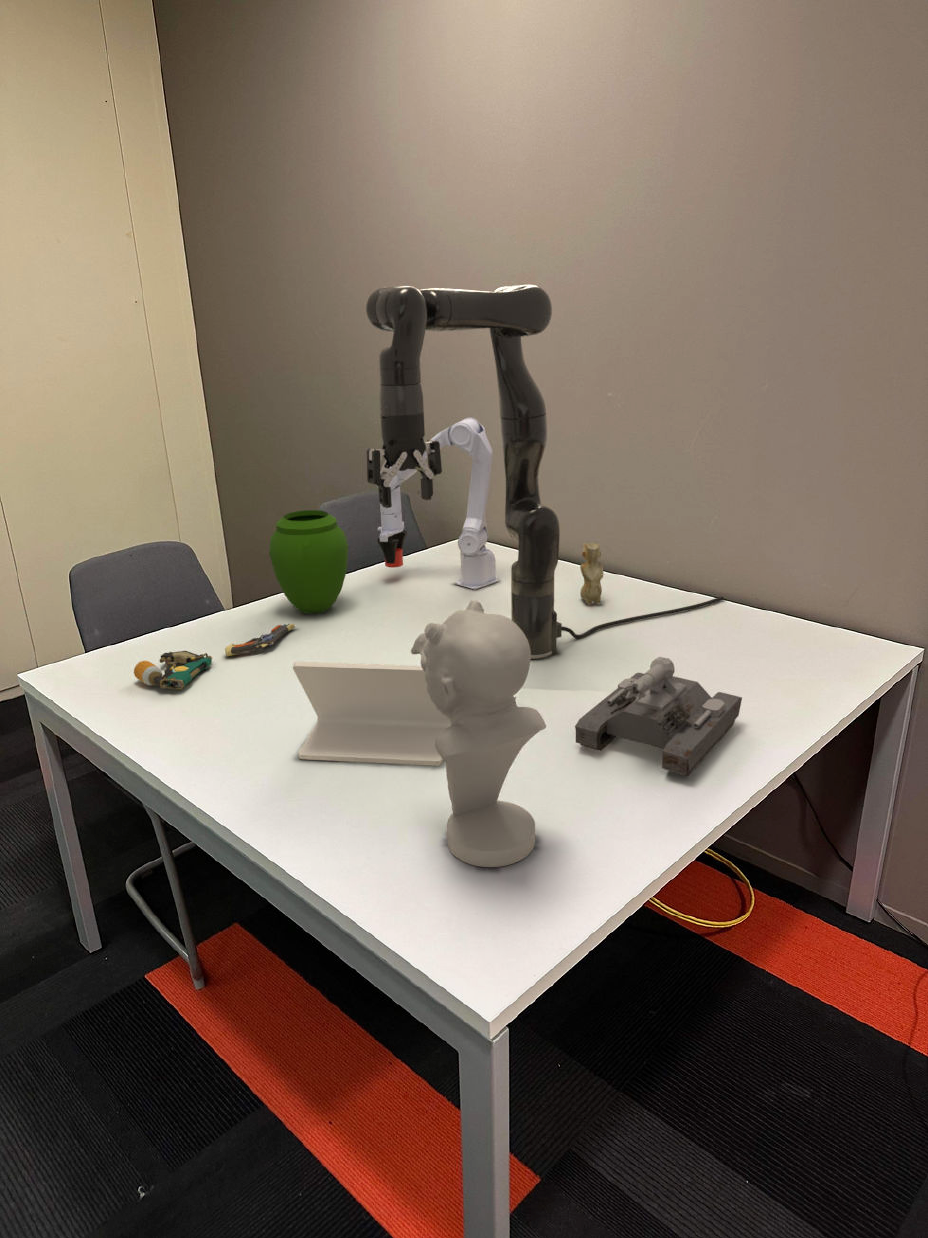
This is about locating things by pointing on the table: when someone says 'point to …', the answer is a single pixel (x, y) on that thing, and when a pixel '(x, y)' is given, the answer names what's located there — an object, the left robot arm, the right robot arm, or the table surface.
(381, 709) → the tablet stand
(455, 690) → the bust sculpture
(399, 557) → the can
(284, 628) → the toy gun
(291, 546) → the vase
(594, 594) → the sculpture
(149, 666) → the multicoloured piece
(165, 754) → the table surface
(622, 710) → the toy
